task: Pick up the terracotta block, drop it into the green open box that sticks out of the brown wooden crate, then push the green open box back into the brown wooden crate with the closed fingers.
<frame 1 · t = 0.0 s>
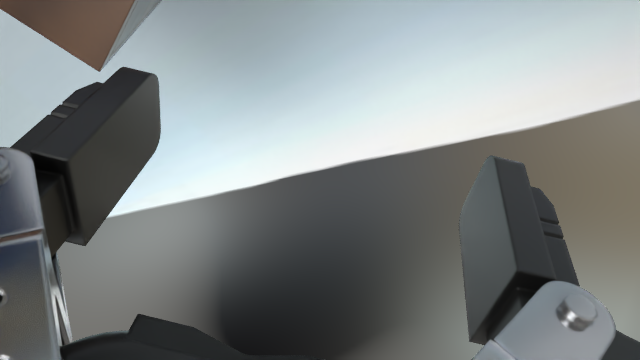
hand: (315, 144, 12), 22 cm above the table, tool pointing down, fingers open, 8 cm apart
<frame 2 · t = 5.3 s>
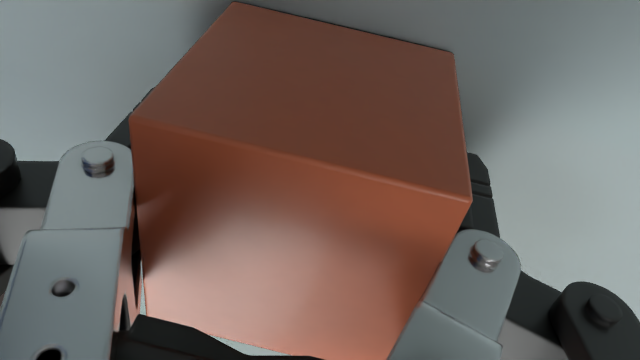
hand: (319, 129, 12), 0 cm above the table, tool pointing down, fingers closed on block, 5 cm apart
block: (323, 120, 13), on the table, touching gripper
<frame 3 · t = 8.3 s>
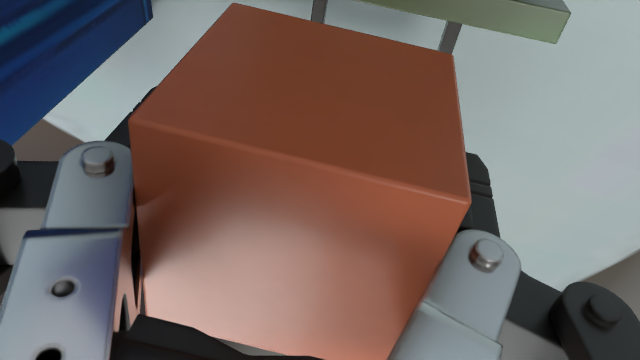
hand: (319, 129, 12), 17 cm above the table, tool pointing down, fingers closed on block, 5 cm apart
block: (322, 121, 13), point 17 cm above the table, touching gripper
when the fingers open (9 cm above the table, at t = 11.6 s): block drops 6 cm, resting on green open box.
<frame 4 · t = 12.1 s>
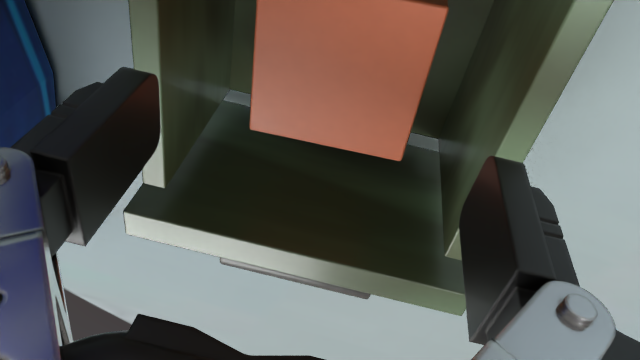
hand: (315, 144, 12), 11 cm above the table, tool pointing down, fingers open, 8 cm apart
block: (355, 15, 19), point 2 cm above the table, touching green open box
green open box: (337, 85, 17), point 5 cm above the table, slide at 11.0 cm, touching block
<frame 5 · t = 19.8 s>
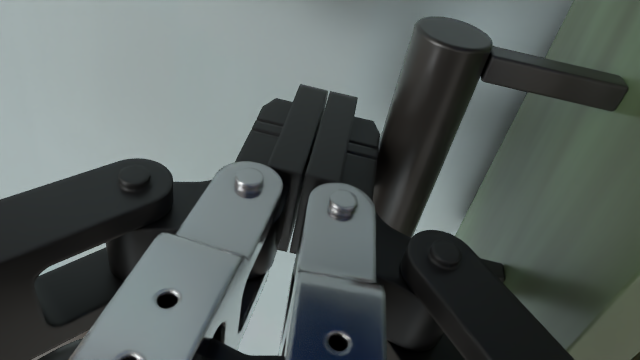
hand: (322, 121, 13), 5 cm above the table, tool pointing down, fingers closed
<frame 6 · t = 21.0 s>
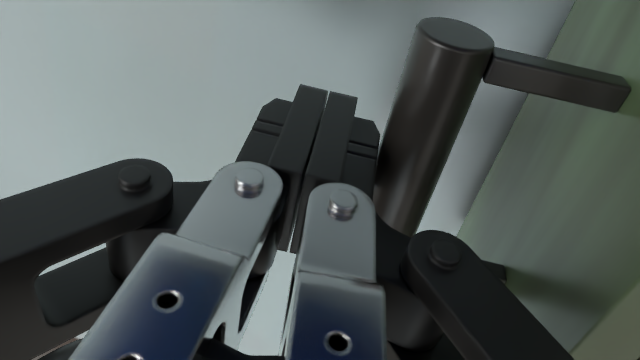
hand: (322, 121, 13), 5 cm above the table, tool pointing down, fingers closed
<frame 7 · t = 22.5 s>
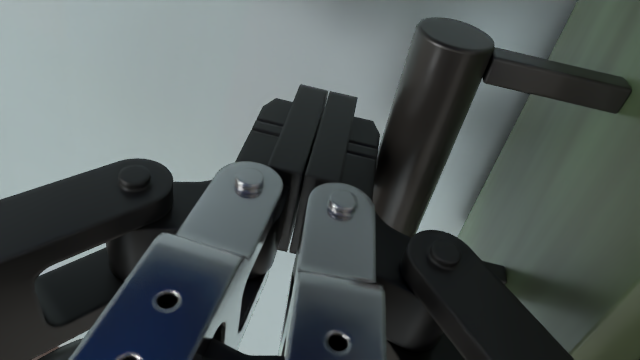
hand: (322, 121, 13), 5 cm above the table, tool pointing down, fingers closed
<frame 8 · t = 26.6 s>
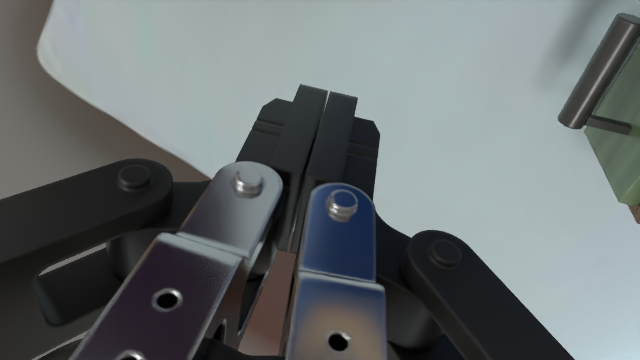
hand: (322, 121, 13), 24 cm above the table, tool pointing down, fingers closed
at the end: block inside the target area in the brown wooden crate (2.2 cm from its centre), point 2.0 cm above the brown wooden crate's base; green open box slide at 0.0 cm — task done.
